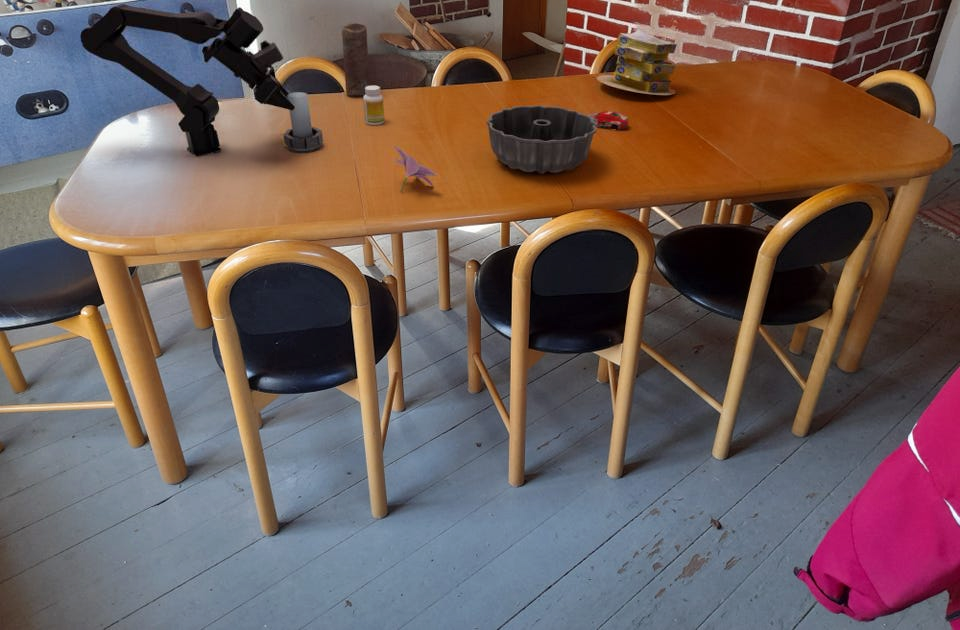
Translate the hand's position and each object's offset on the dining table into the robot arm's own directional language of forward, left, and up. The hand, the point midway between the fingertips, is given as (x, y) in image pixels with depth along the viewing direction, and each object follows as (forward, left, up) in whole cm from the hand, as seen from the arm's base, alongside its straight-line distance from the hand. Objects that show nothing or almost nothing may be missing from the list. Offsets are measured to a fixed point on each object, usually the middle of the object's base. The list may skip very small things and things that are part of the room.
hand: (291, 103), depth 171 cm
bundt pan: (+41, -46, -11) cm, 63 cm away
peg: (+1, -1, -10) cm, 10 cm away
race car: (+73, -39, -12) cm, 84 cm away
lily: (+8, -39, -11) cm, 42 cm away
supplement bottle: (+25, +3, -11) cm, 28 cm away
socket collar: (+1, -1, -11) cm, 11 cm away
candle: (+35, +27, -11) cm, 46 cm away
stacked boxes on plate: (+106, -23, -11) cm, 109 cm away
